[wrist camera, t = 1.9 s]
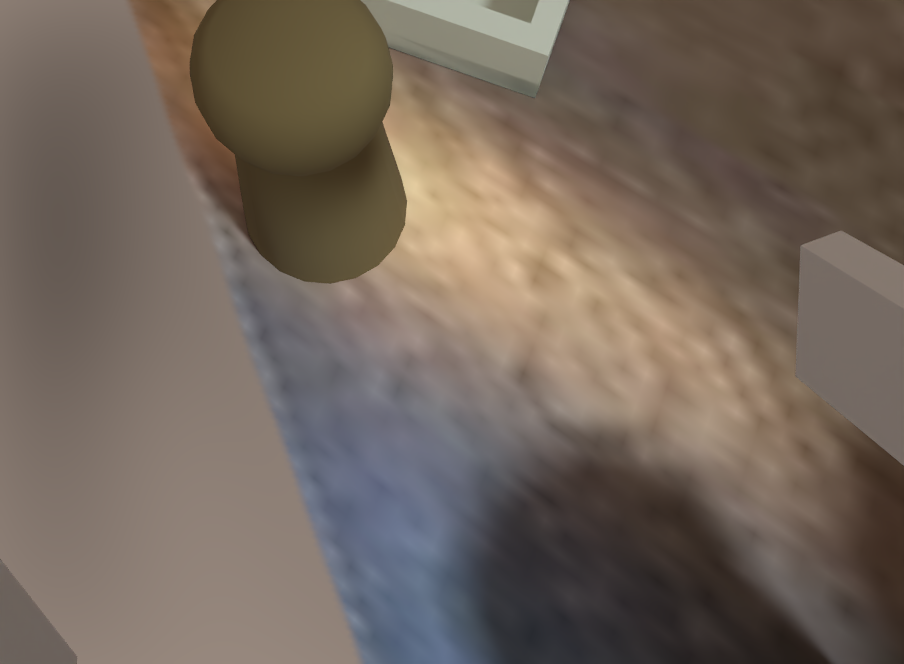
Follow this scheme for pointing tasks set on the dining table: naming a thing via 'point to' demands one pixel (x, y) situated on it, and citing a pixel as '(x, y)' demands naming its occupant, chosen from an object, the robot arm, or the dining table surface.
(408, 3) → the tray
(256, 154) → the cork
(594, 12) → the dining table surface
